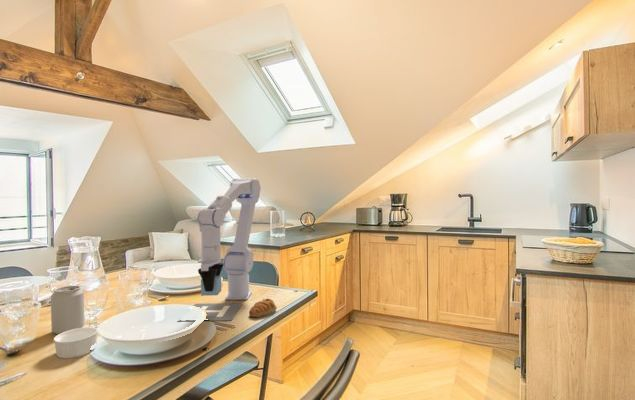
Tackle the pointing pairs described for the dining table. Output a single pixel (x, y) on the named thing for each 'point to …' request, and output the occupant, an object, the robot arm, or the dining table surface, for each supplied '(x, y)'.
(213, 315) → the board
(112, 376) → the dining table surface
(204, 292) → the blue cube
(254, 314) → the pastry
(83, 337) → the ramekin
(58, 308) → the can
